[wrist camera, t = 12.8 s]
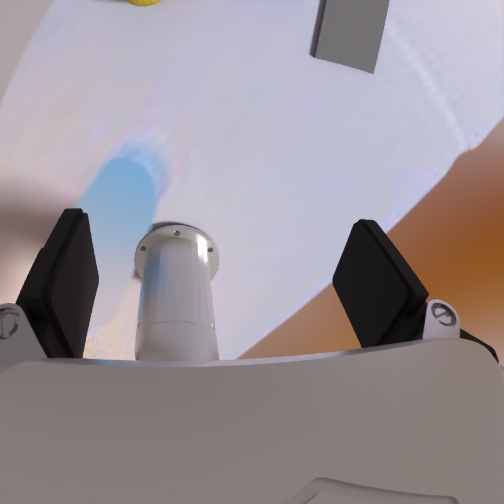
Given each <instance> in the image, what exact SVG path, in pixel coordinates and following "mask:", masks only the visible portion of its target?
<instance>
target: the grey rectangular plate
mask: <svg viewBox="0 0 504 504" xmlns="http://www.w3.org/2000/svg"><path fill="white" fill-rule="evenodd" d="M388 5H389V0H325V3H324V8H323V13H322V18H321V23H320V28H319V33H318V38H317V43H316V48H315V53H314V58H318V59H323V60H327V61H331V62H334V63H338V64H342V65H346V66H349V67H353V68H356V69H359V70H363V71H366V72H369V73H372V74H373V73H374V69H375V65H376V61H377V57H378V52H379V48H380V44H381V39H382V34H383V30H384V25H385V20H386V15H387V10H388Z"/></svg>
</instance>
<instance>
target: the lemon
mask: <svg viewBox="0 0 504 504" xmlns="http://www.w3.org/2000/svg"><path fill="white" fill-rule="evenodd" d="M125 1H127V2H128V3H130V4H133V5H136V6H150V5H153V4H156V3H158V2H160V1H162V0H125Z"/></svg>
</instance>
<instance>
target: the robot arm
mask: <svg viewBox="0 0 504 504" xmlns="http://www.w3.org/2000/svg"><path fill="white" fill-rule="evenodd" d="M134 261H135V267H136V270H137V273H138V274H139V276H140V277H141V279H142V284H141V292H140V300H139V309H138V319H137V329H136V341H135V359H136V360H103V359H84V358H83V352H84V347H85V341H86V336H87V331H88V327H89V322H90V317H91V313H92V308H93V304H94V299H95V296H96V292H97V288H98V283H99V275H98V270H97V265H96V260H95V255H94V249H93V243H92V238H91V232H90V225H89V219H88V214H87V213H83V211H82V209H81V208H73V209H65V210H64V211H63V213H62V215H61V217H60V218H59V220H58V222H57V224H56V225H55V227H54V229H53V231H52V233H51V235H50V236H49V238H48V240H47V242H46V244H45V246H44V247H43V248H41V250H40V251H39V253H38V255H37V257H36V259H35V261H34V263H33V265H32V267H31V269H30V271H29V274H28V276H27V278H26V280H25V282H24V285H23V287H22V289H21V291H20V294H19V296H18V298H17V301H16V303H15V304H12V303H6V304H2V305H0V504H504V367H503V366H502V365H500V366H499V361H498V357H497V355H496V352H495V350H494V349H493V348H492V347H491V346H489V345H487V344H486V343H484V342H482V341H481V340H479V339H477V338H476V337H474V336H472V335H470V334H469V333H467V332H465V331H464V330H462V329H460V320H459V317H458V314H457V313H456V311H455V310H454V309H453V308H452V307H451V306H450V305H449V304H447V303H446V302H444V301H441V300H436V299H435V300H432V301H430V302H429V303H428V304H427V303H426V301H425V300H426V298H427V297H428V295H429V293H428V292H427V290H426V289H425V287H424V286H423V284H422V283H421V282H420V280H419V279H418V277H417V276H416V274H415V273H414V272H413V270H412V269H411V267H410V266H409V265H408V263H407V262H406V260H405V259H404V258H403V257H402V255H401V254H400V253H399V251H398V250H397V248H396V247H395V246H394V244H393V243H392V242H391V240H390V239H389V238H388V237H387V235H386V234H385V233H384V231H383V230H382V229H381V228H380V226H379V225H378V224H377V222H376V221H374V220H366V219H360V220H359V221H358V222H357V223H355V224H354V225H353V227H352V230H351V232H350V235H349V238H348V240H347V243H346V245H345V248H344V251H343V253H342V256H341V258H340V261H339V263H338V266H337V268H336V270H335V273H334V275H333V286H334V288H335V290H336V292H337V294H338V297H339V299H340V301H341V303H342V305H343V307H344V309H345V311H346V314H347V316H348V318H349V320H350V322H351V325H352V327H353V329H354V331H355V333H356V336H357V338H358V340H359V342H360V344H361V347H362V348H361V349H354V350H346V351H337V352H329V353H319V354H310V355H299V356H287V357H275V358H260V359H243V360H242V359H241V360H219V353H218V345H217V337H216V328H215V319H214V310H213V301H212V291H211V280H212V279H213V278H214V277H215V275H216V273H217V271H218V267H219V254H218V250H217V248H216V245H215V244H214V242H213V241H212V240H211V239H210V238H209V237H208V236H207V235H206V234H205V233H203V232H202V231H200V230H198V229H195V228H193V227H189V226H185V225H167V226H163V227H159V228H157V229H155V230H153V231H151V232H149V233H148V234H147V235H145V236H144V237H143V239H142V240H141V241H140V243H139V244H138V246H137V249H136V252H135V259H134Z"/></svg>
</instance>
